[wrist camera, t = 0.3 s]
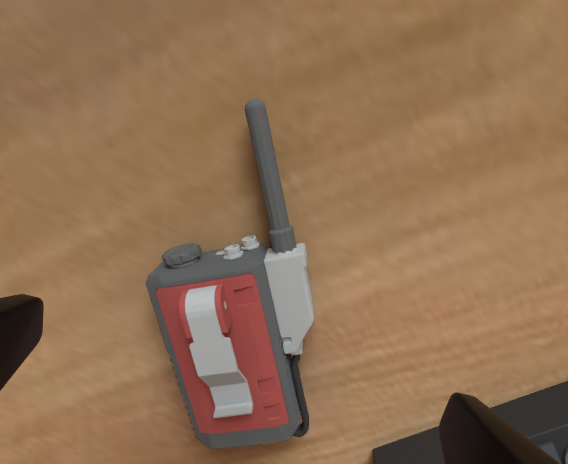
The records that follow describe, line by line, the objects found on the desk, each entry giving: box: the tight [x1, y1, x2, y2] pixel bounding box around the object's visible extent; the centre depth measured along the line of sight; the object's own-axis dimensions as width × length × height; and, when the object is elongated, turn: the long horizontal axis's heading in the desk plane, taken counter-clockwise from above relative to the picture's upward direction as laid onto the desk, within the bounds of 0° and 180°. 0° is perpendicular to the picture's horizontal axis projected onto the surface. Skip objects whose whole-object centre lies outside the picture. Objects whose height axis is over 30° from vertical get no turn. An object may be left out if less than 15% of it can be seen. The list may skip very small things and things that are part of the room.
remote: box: [373, 381, 568, 464], centre depth 24 cm, size 18×5×3 cm, turn 118°
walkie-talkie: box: [146, 99, 314, 449], centre depth 21 cm, size 9×4×20 cm
